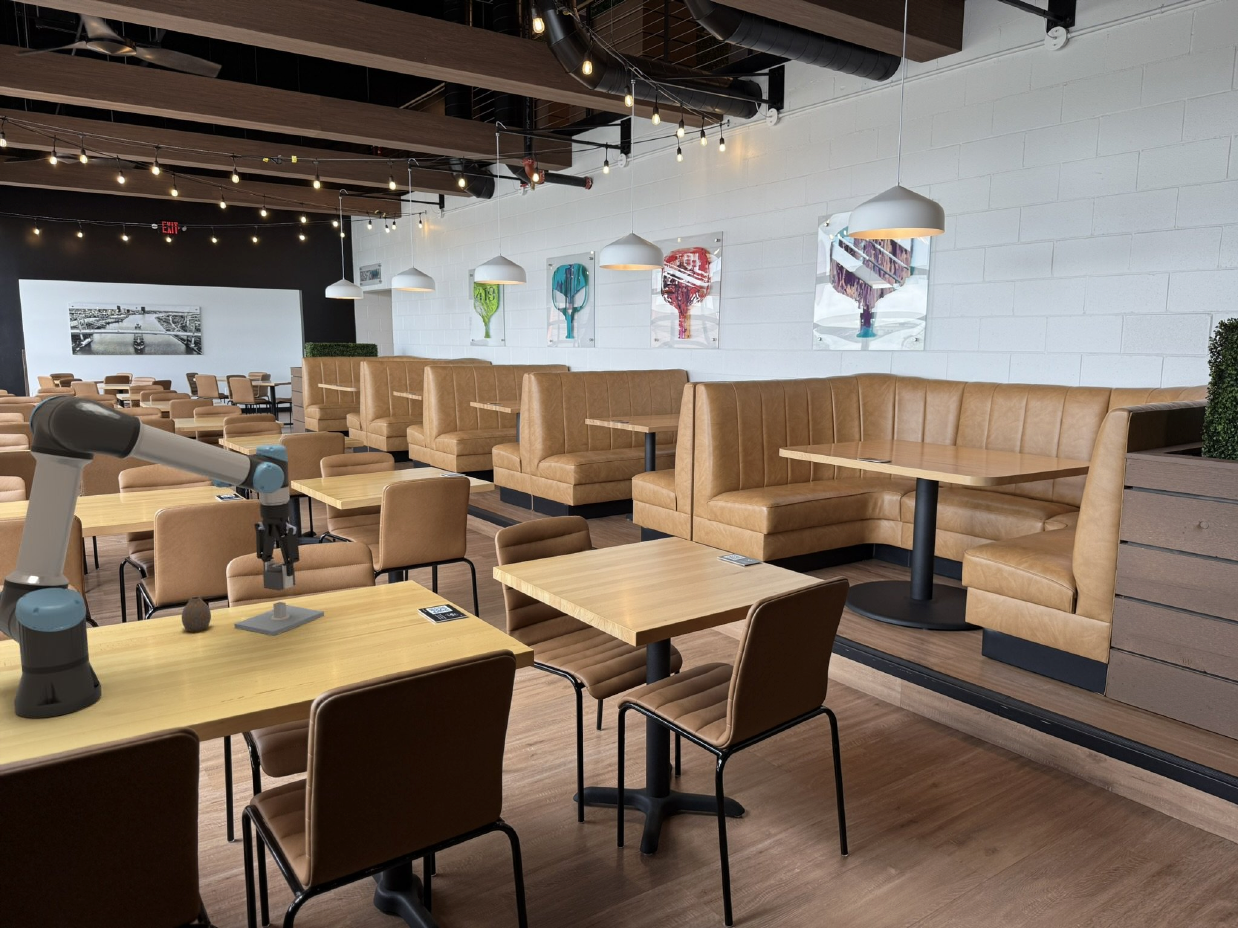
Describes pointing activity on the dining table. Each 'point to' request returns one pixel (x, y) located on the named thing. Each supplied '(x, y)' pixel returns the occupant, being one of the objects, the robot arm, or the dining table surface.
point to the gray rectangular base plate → (279, 619)
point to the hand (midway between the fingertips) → (279, 585)
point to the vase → (196, 615)
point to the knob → (274, 577)
